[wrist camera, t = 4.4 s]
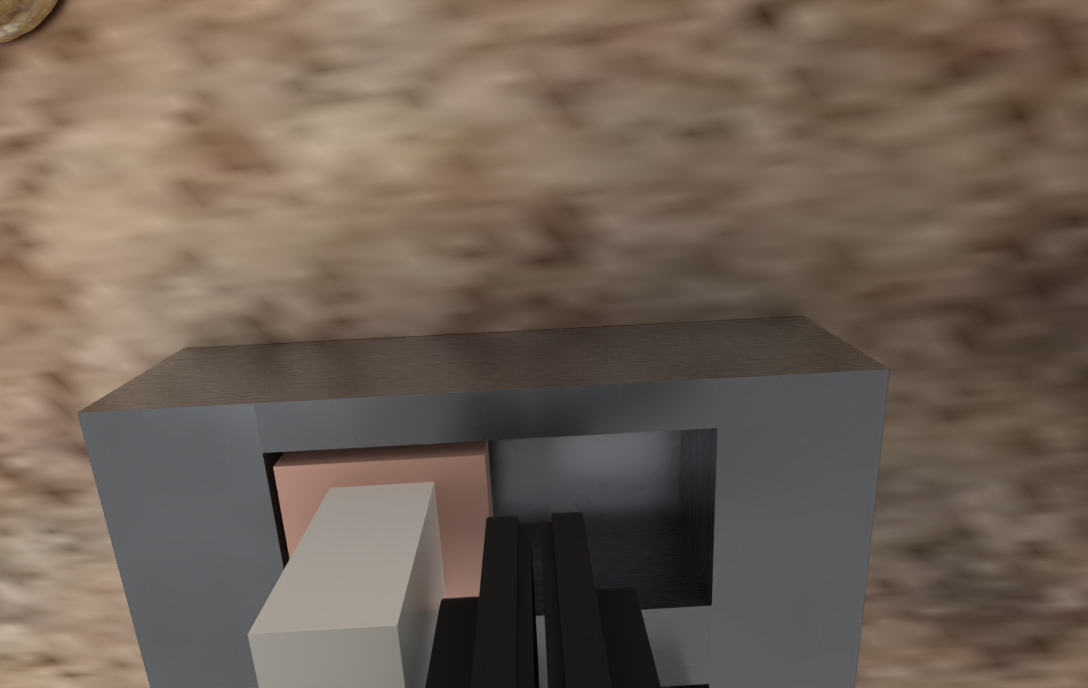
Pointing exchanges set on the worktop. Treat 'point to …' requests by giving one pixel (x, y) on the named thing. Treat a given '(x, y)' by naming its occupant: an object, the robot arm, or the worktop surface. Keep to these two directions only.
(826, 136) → the worktop surface
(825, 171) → the worktop surface
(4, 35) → the sprinkles bottle
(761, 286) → the worktop surface
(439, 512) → the slider lever
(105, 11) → the worktop surface
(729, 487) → the control panel
